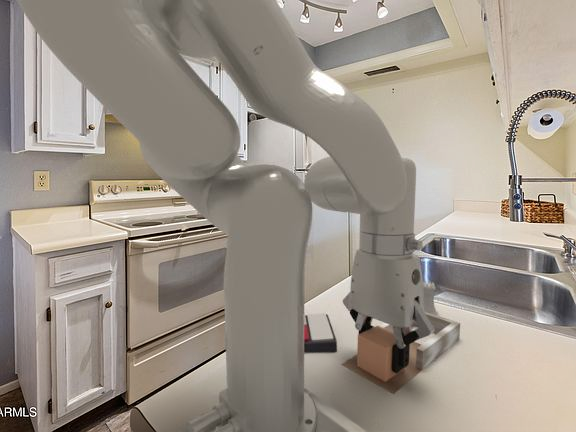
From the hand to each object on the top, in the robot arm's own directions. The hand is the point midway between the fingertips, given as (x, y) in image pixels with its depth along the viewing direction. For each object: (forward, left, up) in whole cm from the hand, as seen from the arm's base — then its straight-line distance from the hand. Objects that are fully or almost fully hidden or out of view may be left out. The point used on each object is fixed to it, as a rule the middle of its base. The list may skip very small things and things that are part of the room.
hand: (382, 359), depth 48 cm
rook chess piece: (+25, +5, -3) cm, 25 cm away
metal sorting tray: (+7, 0, -3) cm, 7 cm away
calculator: (-4, +16, -3) cm, 17 cm away
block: (0, 0, -1) cm, 1 cm away
